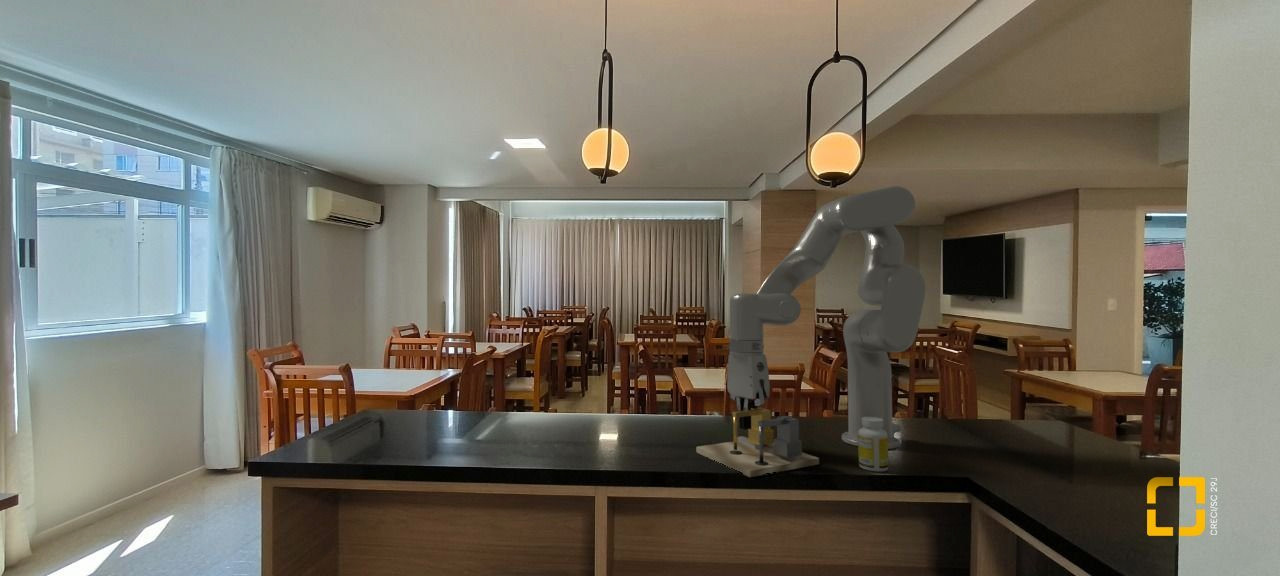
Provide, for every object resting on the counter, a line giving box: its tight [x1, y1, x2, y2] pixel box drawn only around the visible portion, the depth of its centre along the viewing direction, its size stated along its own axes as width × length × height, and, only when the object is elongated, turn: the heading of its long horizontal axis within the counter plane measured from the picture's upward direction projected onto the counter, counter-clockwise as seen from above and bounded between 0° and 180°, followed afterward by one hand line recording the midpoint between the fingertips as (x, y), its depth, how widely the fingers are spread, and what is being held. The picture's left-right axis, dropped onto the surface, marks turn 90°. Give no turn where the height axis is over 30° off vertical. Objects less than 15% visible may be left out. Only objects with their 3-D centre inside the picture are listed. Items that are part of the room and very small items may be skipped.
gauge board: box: [695, 435, 820, 478], centre depth 104 cm, size 18×18×2 cm
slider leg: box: [732, 406, 775, 450], centre depth 105 cm, size 9×4×8 cm, turn 117°
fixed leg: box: [758, 415, 803, 463], centre depth 98 cm, size 9×4×8 cm, turn 117°
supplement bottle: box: [857, 417, 889, 473], centre depth 98 cm, size 5×5×10 cm
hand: (746, 428), depth 111 cm, fingers closed
